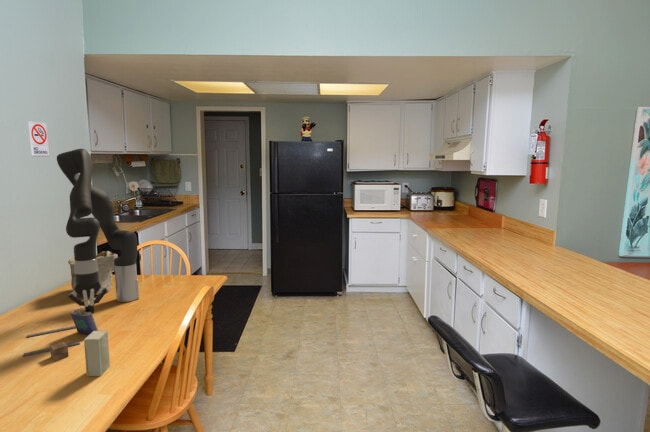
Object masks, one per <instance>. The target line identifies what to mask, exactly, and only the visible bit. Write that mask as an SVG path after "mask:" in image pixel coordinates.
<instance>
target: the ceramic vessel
mask: <svg viewBox="0 0 650 432" xmlns="http://www.w3.org/2000/svg"><path fill="white" fill-rule="evenodd" d="M117 257H119V256H118V254H117V253H115V252H112V251H109V250H105V251H101V252H99V253H98V254H96V258H97V263H98V274H99V283H100V285H101V287H103V288H106V289H107V292H106V293H105V294H107V293H108V292H109V291H111V289H112V286H113V272H115V269H114V259H115V258H117ZM67 263H68V265H69V266H70V267H69V268H70V274H71V289H72V290H73V291H74V289H75V286H76V282H75V272H74V270H75V269H74V263H75V259H74V257H73V258H70V259H69V260H68V262H67ZM73 291H72V292H73ZM99 293H100V289H99V291H98V292H97V294H96V295H95V296H98V295H99ZM76 294H77V293H76ZM78 296H79V297H81V296H80V295H79V294H77V297H78Z"/></svg>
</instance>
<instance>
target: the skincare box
mask: <svg viewBox="0 0 650 432" xmlns="http://www.w3.org/2000/svg"><path fill="white" fill-rule="evenodd" d="M83 343H84V356H85V357H84V359H85V371H86V372H85V373H86V377H102V376H103V374H104V373H105V372H106V371H107V370H108V369H109V368H110V366H111V362H110V348H109V331H108V330H98V331H93V332H92V333H91V334H90V335H87V336H86V337H85V338H84V339H83Z"/></svg>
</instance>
